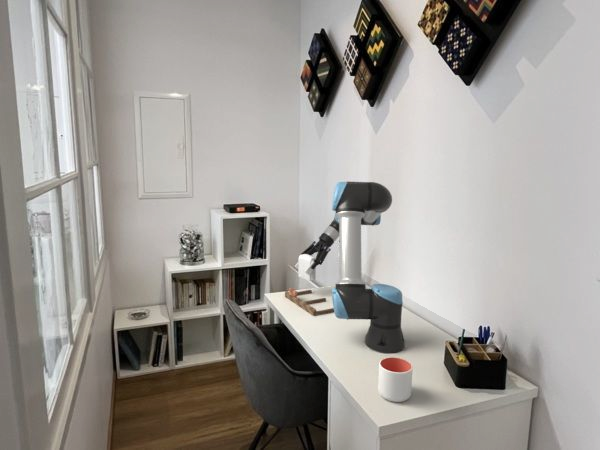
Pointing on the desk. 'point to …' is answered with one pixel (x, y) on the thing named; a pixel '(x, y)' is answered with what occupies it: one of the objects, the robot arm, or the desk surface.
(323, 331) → the desk surface
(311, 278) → the photo printer
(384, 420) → the desk surface
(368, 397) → the desk surface
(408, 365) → the cup
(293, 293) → the wooden stand frame
